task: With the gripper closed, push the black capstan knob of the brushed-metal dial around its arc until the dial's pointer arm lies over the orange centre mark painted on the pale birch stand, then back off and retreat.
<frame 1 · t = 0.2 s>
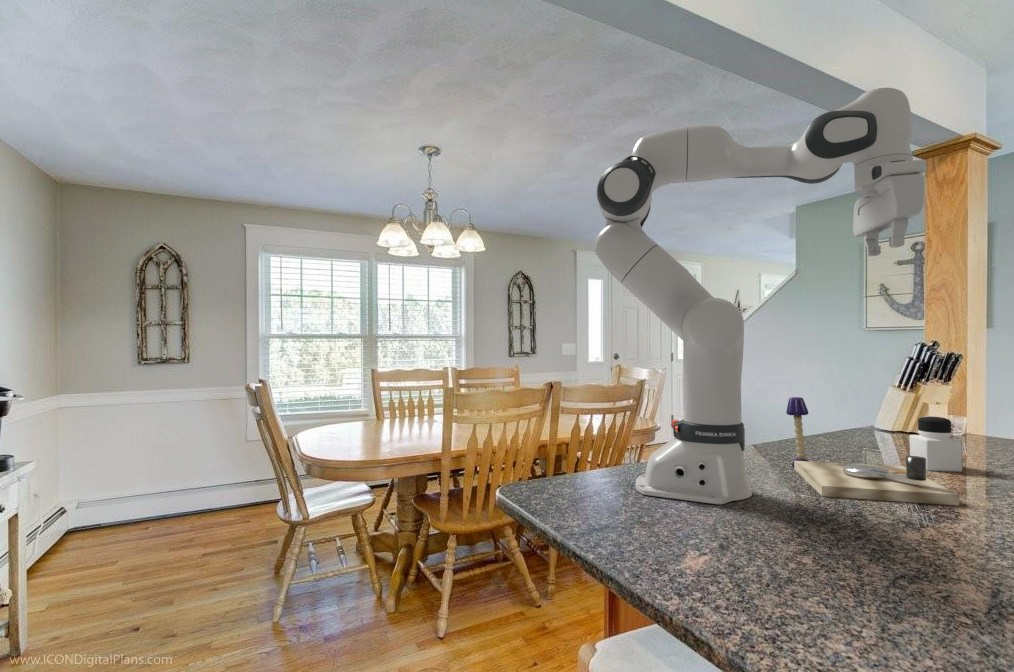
hand: (884, 251, 94), 47 cm above the countertop, fingers open, 8 cm apart
birch stand: (866, 485, 106), on the countertop
capstan dial: (882, 464, 103), point 5 cm above the countertop, hinge at -45.0°
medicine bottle: (935, 468, 119), on the countertop
toy lamp: (800, 467, 122), on the countertop
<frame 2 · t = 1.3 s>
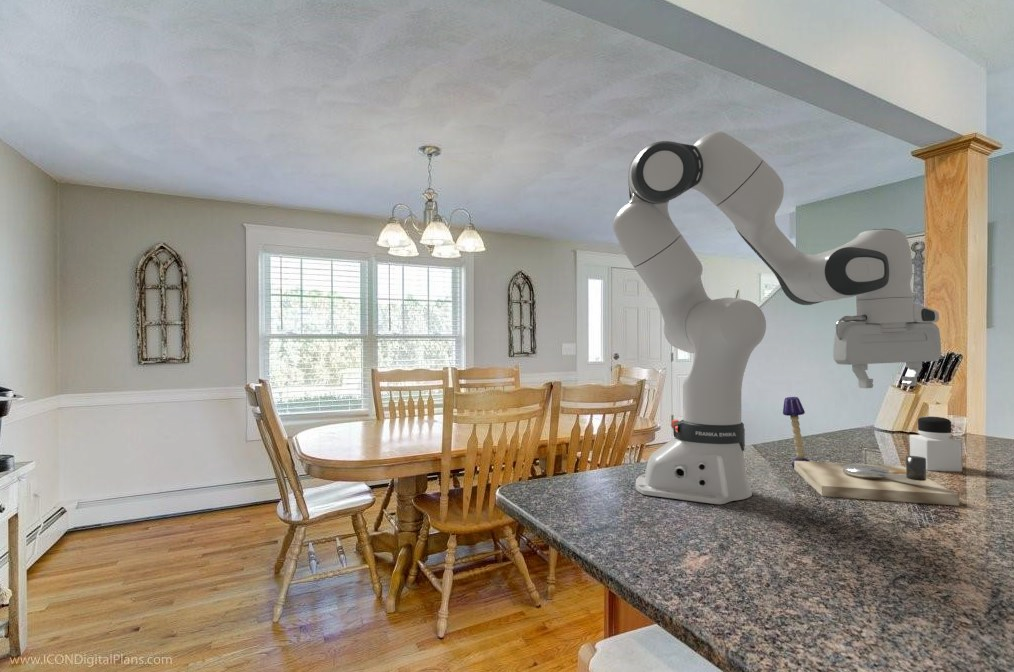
hand: (887, 386, 96), 21 cm above the countertop, fingers open, 8 cm apart
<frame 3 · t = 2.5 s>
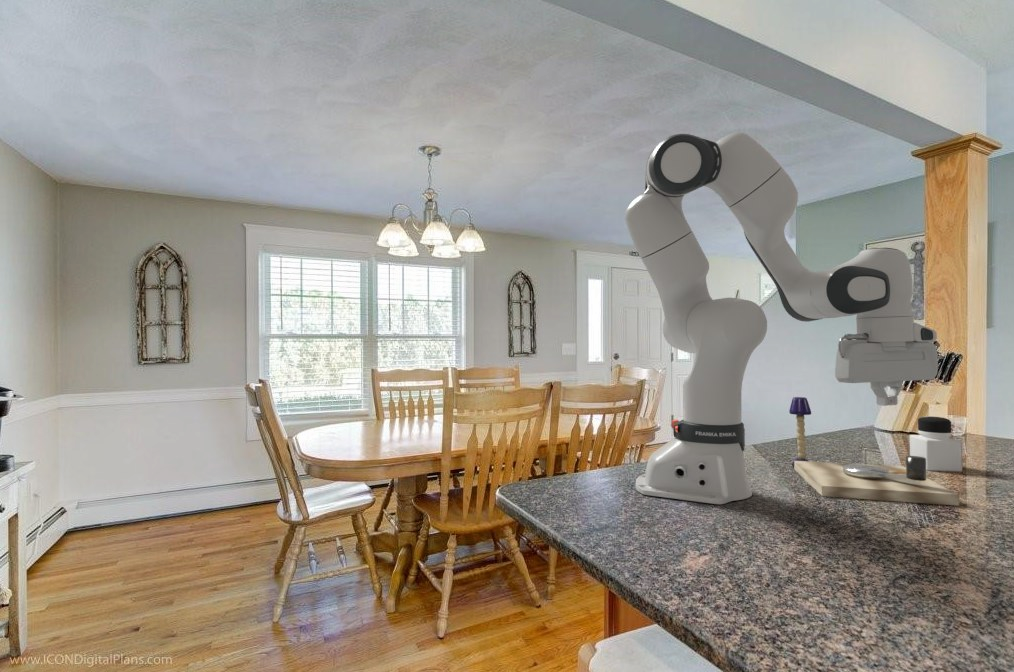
hand: (887, 405, 96), 18 cm above the countertop, fingers closed
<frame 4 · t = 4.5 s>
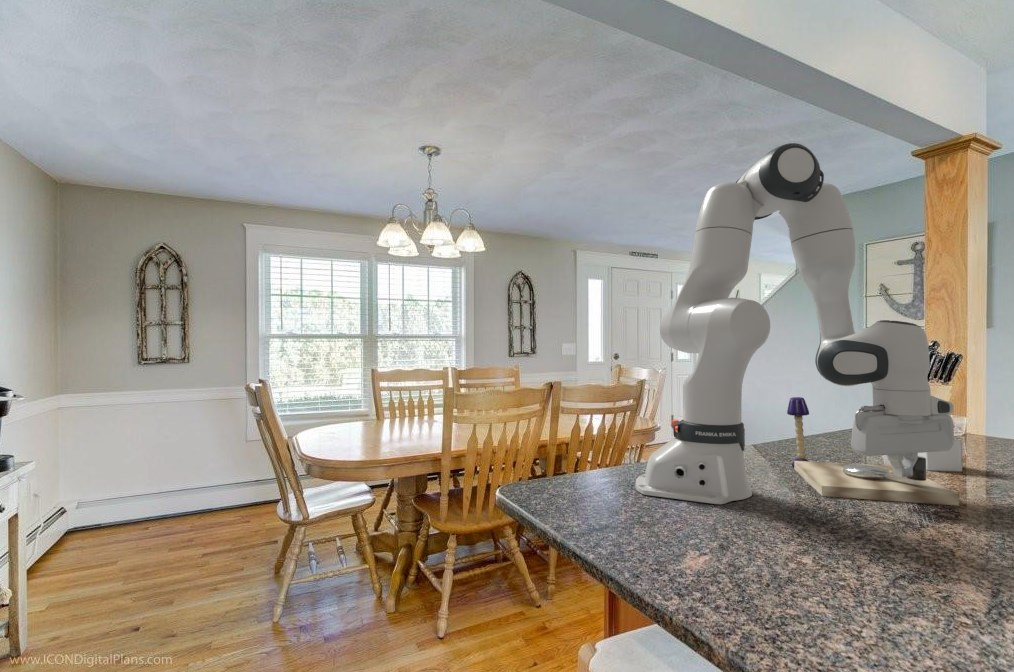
hand: (903, 476, 97), 4 cm above the countertop, fingers closed
capstan dial: (882, 464, 103), point 5 cm above the countertop, hinge at -44.9°, touching gripper
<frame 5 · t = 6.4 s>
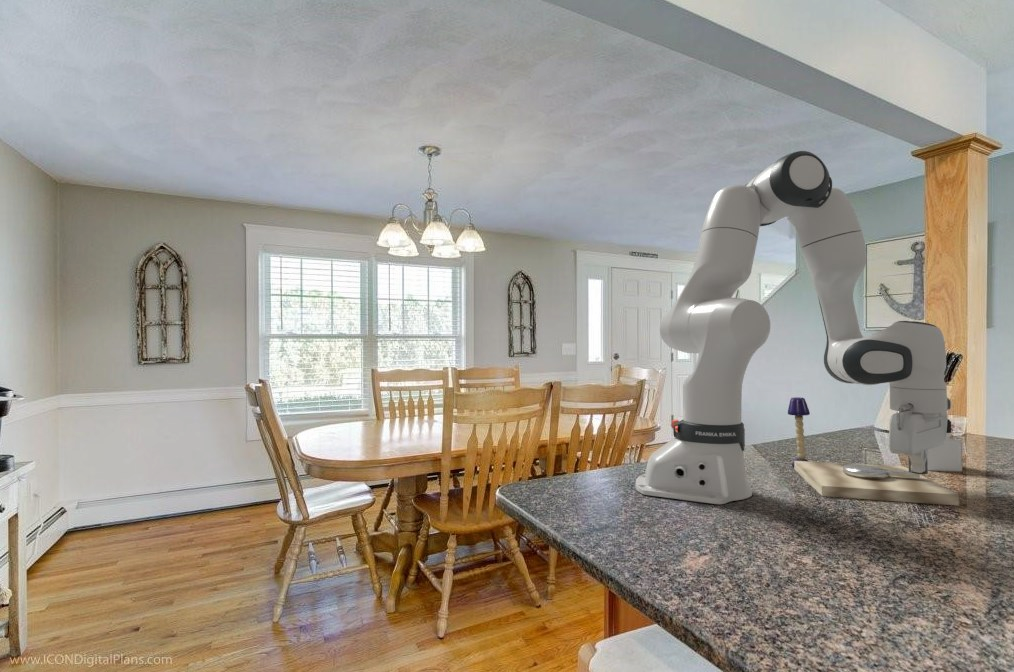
hand: (918, 471, 100), 4 cm above the countertop, fingers closed
capstan dial: (884, 462, 105), point 5 cm above the countertop, hinge at -4.1°, touching gripper
everything else where it was.
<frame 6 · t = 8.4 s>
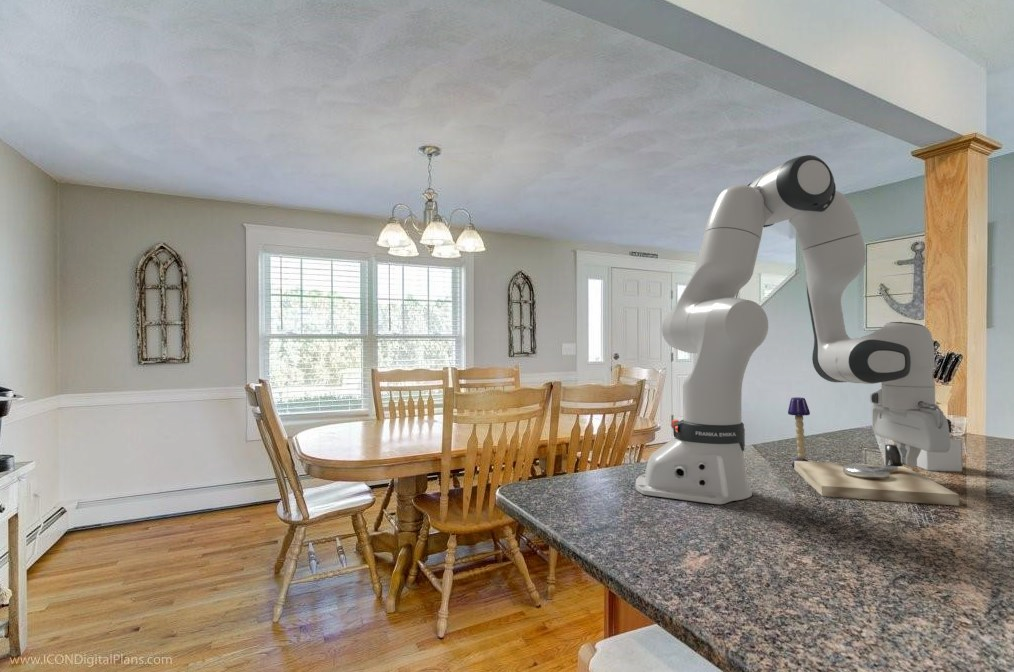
hand: (908, 465, 105), 4 cm above the countertop, fingers closed
capstan dial: (876, 460, 107), point 5 cm above the countertop, hinge at 37.8°, touching gripper
everything else where it was.
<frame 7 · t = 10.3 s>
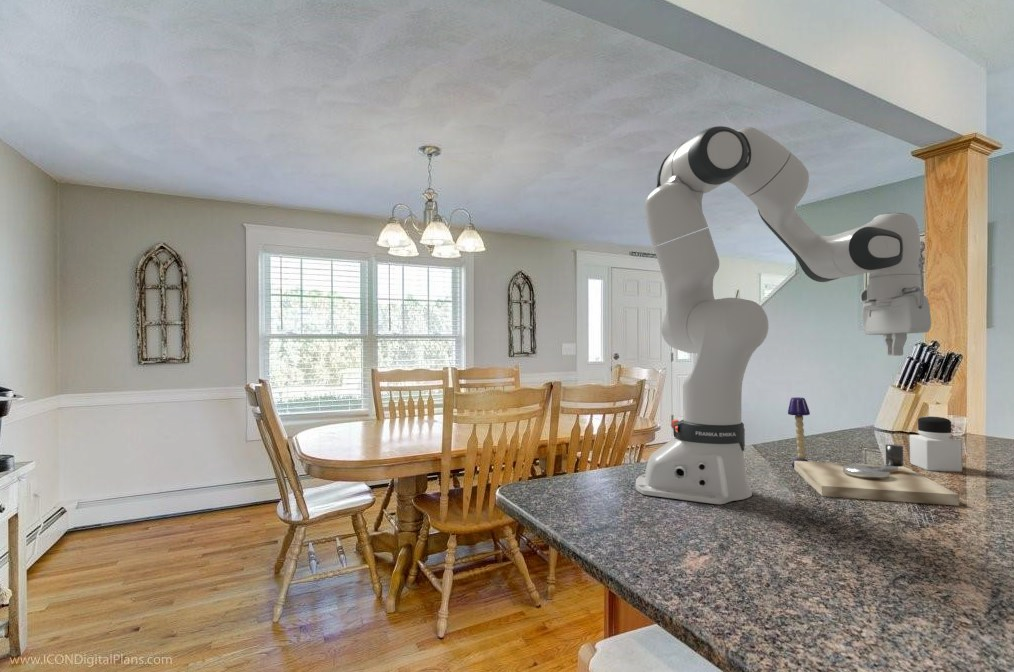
hand: (894, 355, 107), 27 cm above the countertop, fingers closed
capstan dial: (876, 460, 107), point 5 cm above the countertop, hinge at 37.3°
everything else where it was.
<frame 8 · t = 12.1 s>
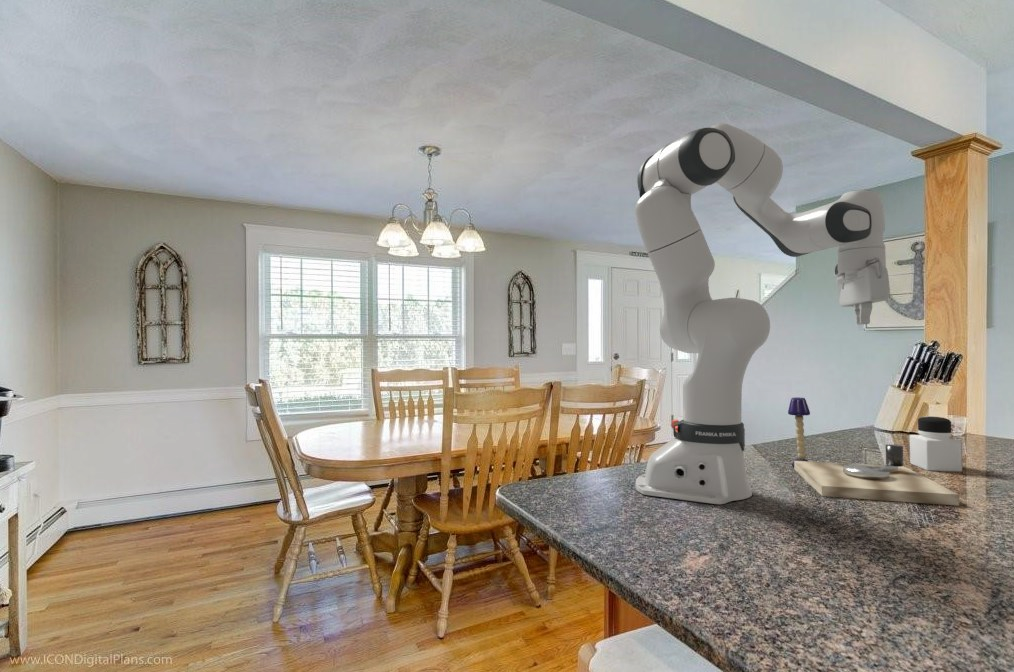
hand: (862, 324, 114), 34 cm above the countertop, fingers closed
nothing on the countertop moved.
at the end: capstan dial at +37° (first picture: -45°); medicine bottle moved 0.2 cm from its start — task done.
